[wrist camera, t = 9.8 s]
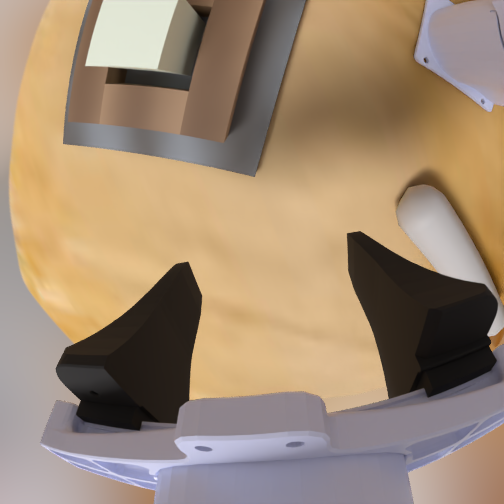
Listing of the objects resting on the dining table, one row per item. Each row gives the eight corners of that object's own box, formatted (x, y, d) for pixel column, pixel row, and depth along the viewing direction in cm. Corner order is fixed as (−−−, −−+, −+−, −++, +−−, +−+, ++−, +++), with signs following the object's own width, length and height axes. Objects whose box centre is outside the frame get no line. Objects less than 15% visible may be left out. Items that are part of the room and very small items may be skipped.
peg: (205, 24, 14) (180, -7, 8) (190, 75, 16) (157, 69, 10) (151, 19, 14) (105, -5, 8) (137, 69, 16) (85, 65, 10)
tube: (389, 236, 19) (478, 343, 27) (446, 198, 16) (511, 327, 23) (380, 195, 23) (471, 310, 31) (426, 161, 19) (501, 294, 27)
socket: (310, -18, 13) (321, -38, 9) (254, 173, 21) (254, 190, 17) (107, -32, 11) (84, -46, 7) (69, 141, 19) (41, 153, 16)
